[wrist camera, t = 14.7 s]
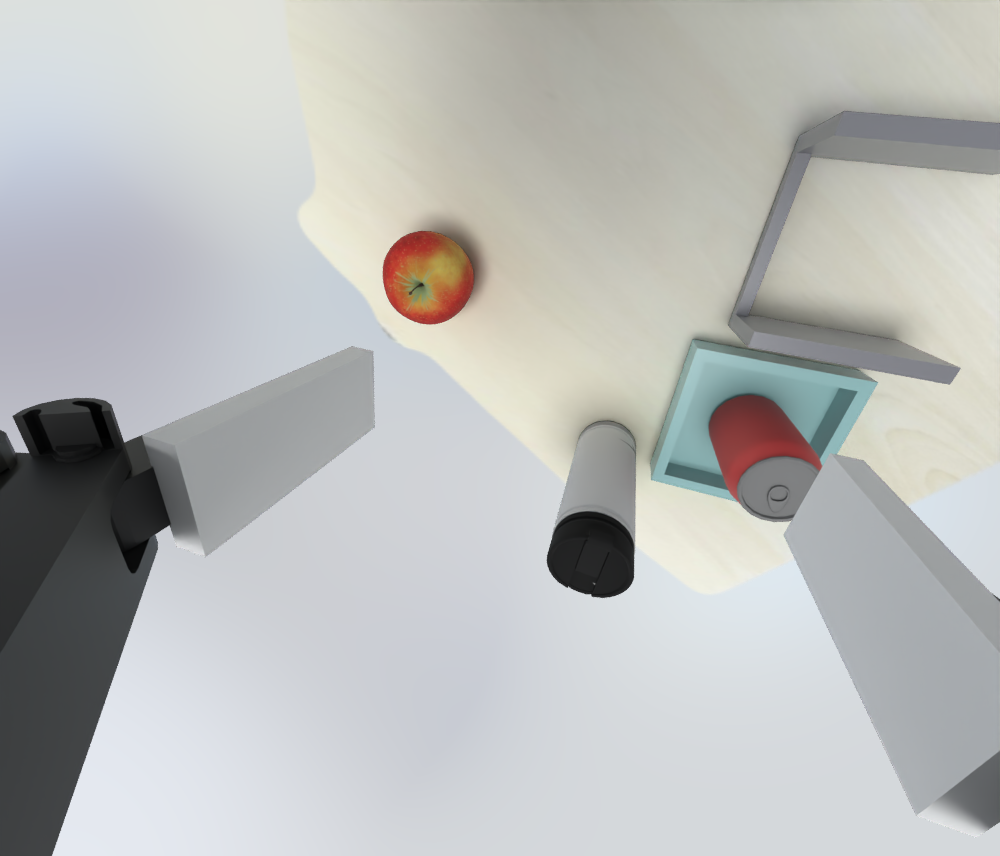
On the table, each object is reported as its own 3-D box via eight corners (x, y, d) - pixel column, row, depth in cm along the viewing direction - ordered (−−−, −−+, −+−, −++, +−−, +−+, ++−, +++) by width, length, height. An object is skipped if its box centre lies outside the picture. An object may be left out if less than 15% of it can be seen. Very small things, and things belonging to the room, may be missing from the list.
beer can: (704, 452, 43) (724, 523, 33) (711, 392, 41) (735, 448, 30) (777, 456, 41) (824, 532, 31) (790, 392, 39) (845, 453, 28)
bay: (798, 136, 32) (844, 111, 25) (1003, 154, 29) (1117, 132, 22) (728, 325, 38) (747, 347, 31) (889, 353, 36) (949, 384, 29)
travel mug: (645, 426, 45) (649, 554, 27) (625, 477, 48) (618, 620, 30) (587, 410, 46) (556, 523, 28) (571, 461, 49) (536, 590, 32)
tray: (692, 339, 40) (697, 348, 37) (858, 370, 37) (878, 382, 34) (650, 463, 46) (651, 479, 43) (788, 497, 43) (800, 517, 40)
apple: (448, 212, 41) (398, 208, 33) (501, 279, 42) (466, 292, 34) (399, 268, 45) (342, 278, 36) (448, 328, 46) (405, 352, 38)
